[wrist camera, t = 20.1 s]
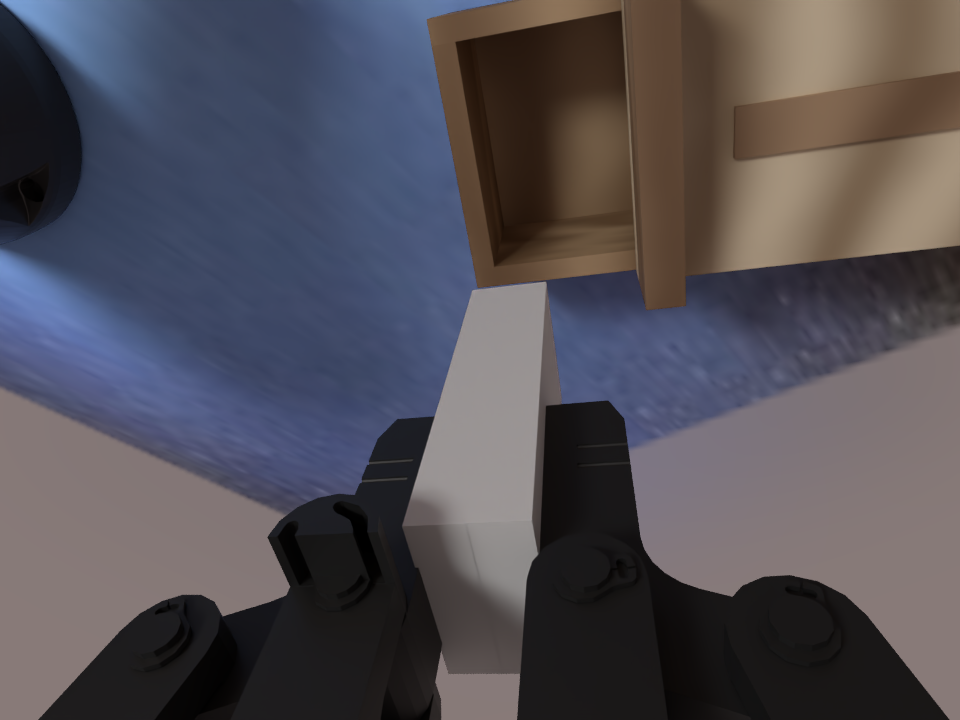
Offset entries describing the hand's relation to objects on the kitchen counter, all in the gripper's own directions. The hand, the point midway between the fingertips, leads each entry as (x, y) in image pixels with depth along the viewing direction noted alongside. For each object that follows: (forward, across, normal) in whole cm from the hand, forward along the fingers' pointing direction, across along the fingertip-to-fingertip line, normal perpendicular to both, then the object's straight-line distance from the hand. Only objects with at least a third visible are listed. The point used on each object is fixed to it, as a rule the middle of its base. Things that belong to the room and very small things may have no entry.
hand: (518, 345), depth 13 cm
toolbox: (+24, +5, 0) cm, 25 cm away
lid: (+17, +13, 0) cm, 21 cm away
